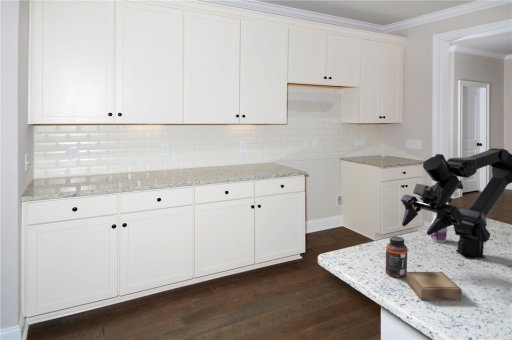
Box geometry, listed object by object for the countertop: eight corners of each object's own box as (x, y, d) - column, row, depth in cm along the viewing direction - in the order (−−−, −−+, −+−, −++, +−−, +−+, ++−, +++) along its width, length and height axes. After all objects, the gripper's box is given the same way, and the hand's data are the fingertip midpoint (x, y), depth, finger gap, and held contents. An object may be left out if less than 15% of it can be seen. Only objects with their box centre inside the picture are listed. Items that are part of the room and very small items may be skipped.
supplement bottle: (408, 279, 97) (410, 242, 96) (387, 277, 98) (388, 241, 97) (404, 270, 103) (405, 235, 101) (383, 269, 104) (384, 234, 103)
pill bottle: (427, 238, 130) (428, 214, 128) (440, 237, 130) (441, 214, 128) (435, 243, 124) (436, 218, 123) (449, 242, 124) (450, 217, 123)
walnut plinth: (441, 281, 95) (441, 271, 95) (460, 300, 85) (461, 288, 85) (405, 281, 96) (406, 271, 95) (421, 300, 86) (421, 288, 85)
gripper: (406, 170, 110) (378, 207, 107) (459, 178, 92) (428, 222, 90) (422, 191, 114) (396, 227, 111) (476, 203, 97) (447, 245, 94)
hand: (414, 229), depth 101 cm, fingers open, 9 cm apart
